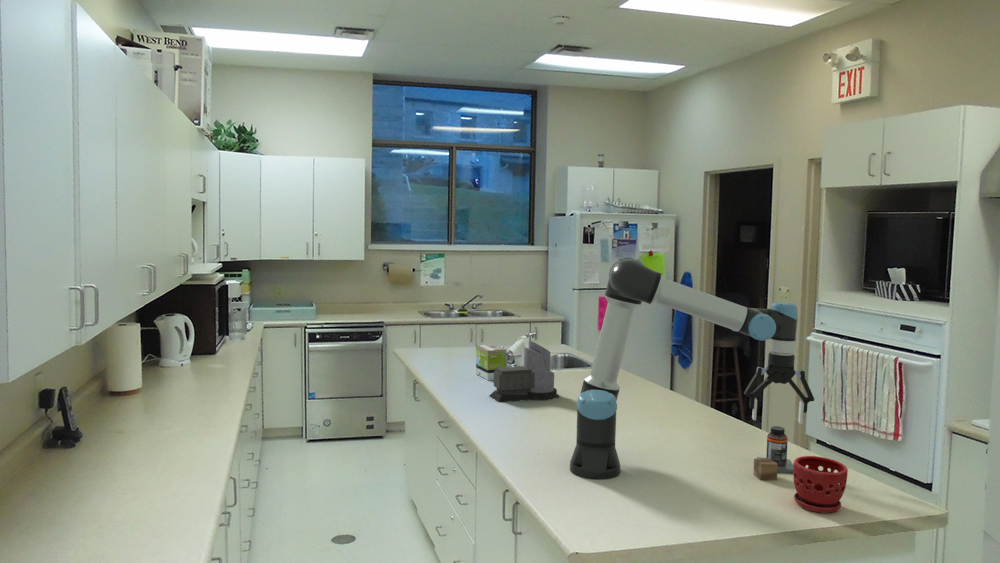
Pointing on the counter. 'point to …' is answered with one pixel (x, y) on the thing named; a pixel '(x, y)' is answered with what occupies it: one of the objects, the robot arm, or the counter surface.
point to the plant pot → (819, 483)
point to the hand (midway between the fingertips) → (777, 421)
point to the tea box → (489, 360)
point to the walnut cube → (765, 469)
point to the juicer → (526, 378)
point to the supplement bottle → (777, 445)
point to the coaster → (784, 467)
